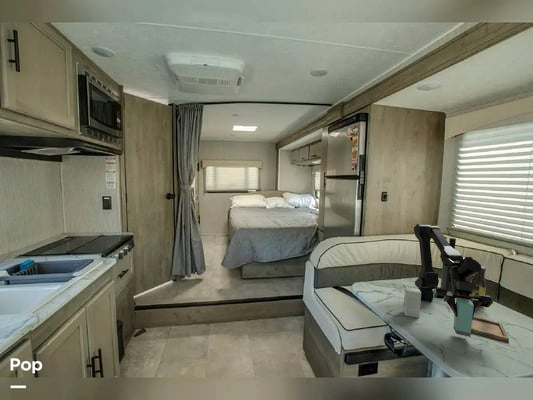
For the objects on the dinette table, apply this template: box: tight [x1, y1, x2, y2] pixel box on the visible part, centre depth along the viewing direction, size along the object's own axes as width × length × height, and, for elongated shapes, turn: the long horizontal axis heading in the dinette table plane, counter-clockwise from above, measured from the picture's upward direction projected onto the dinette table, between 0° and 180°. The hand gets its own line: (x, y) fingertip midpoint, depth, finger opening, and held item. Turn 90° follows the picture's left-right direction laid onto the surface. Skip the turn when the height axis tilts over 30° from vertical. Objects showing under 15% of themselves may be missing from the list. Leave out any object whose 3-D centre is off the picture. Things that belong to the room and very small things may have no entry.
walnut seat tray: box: [471, 315, 510, 343], centre depth 110 cm, size 13×13×2 cm
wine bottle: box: [440, 237, 457, 292], centre depth 145 cm, size 6×6×30 cm
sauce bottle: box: [469, 265, 487, 308], centre depth 130 cm, size 7×6×20 cm
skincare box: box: [403, 286, 422, 319], centre depth 119 cm, size 6×4×12 cm
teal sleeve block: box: [453, 298, 474, 338], centre depth 102 cm, size 4×4×13 cm
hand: (464, 318), depth 101 cm, fingers closed on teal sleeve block, 4 cm apart
